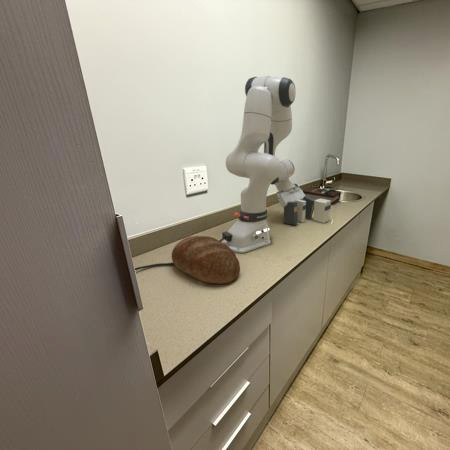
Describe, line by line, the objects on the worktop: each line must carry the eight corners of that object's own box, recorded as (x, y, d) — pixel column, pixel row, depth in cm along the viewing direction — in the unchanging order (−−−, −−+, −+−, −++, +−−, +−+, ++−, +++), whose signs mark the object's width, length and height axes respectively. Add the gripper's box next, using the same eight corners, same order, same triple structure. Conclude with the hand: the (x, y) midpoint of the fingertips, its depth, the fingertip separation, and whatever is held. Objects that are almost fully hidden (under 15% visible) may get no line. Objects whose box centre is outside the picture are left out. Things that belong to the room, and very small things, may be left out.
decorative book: (309, 185, 197) (344, 190, 185) (308, 194, 200) (343, 200, 188) (298, 189, 181) (336, 195, 169) (297, 199, 184) (335, 205, 172)
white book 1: (302, 222, 136) (303, 202, 132) (292, 219, 140) (292, 199, 136) (305, 221, 139) (306, 201, 134) (295, 218, 142) (295, 198, 138)
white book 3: (326, 221, 140) (328, 201, 135) (316, 219, 143) (317, 199, 139) (329, 220, 142) (331, 200, 138) (318, 217, 146) (320, 198, 141)
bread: (199, 249, 100) (196, 223, 96) (251, 272, 86) (250, 243, 82) (161, 264, 88) (156, 236, 84) (215, 294, 73) (211, 261, 69)
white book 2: (324, 223, 137) (325, 203, 132) (313, 220, 141) (314, 200, 136) (326, 221, 139) (328, 201, 134) (316, 218, 143) (316, 199, 138)
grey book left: (294, 225, 130) (294, 203, 127) (284, 223, 134) (283, 201, 130) (297, 223, 133) (297, 202, 129) (287, 221, 136) (286, 200, 133)
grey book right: (309, 219, 142) (314, 201, 136) (299, 214, 144) (303, 196, 138) (311, 217, 144) (316, 200, 138) (301, 212, 147) (306, 195, 141)
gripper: (278, 189, 128) (292, 210, 127) (299, 183, 144) (312, 202, 143) (271, 195, 132) (285, 216, 130) (293, 189, 148) (305, 208, 146)
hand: (299, 209), depth 137 cm, fingers open, 4 cm apart
